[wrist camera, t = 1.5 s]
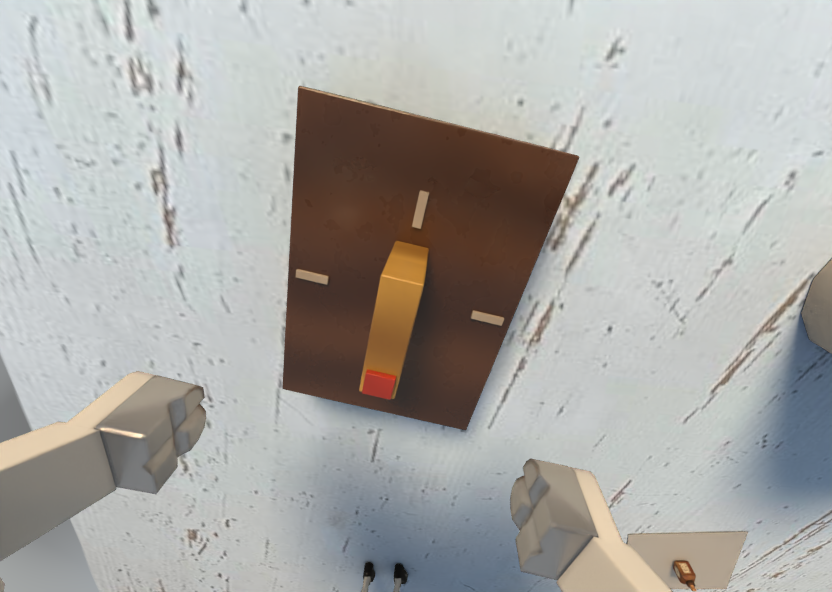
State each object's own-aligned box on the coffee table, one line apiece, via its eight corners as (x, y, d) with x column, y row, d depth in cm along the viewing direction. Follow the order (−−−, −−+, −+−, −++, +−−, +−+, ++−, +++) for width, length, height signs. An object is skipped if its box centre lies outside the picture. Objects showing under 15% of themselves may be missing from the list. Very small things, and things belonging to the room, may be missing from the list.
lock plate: (325, 91, 14) (295, 84, 12) (556, 149, 15) (582, 156, 12) (303, 354, 21) (280, 391, 18) (463, 391, 21) (466, 433, 18)
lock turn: (395, 239, 14) (379, 277, 11) (429, 247, 14) (423, 288, 11) (375, 339, 16) (356, 396, 13) (404, 346, 16) (393, 405, 13)
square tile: (726, 588, 28) (743, 618, 27) (621, 588, 30) (632, 616, 28) (748, 531, 25) (769, 561, 23) (628, 534, 26) (640, 562, 24)
